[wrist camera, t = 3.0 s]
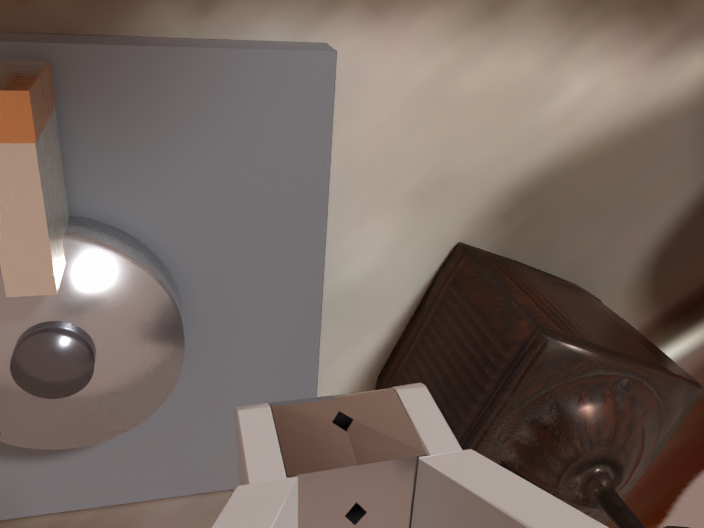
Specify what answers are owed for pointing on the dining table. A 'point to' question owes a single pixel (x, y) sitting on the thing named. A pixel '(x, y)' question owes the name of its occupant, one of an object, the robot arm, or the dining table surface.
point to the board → (193, 240)
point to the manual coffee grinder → (543, 380)
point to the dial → (72, 294)
